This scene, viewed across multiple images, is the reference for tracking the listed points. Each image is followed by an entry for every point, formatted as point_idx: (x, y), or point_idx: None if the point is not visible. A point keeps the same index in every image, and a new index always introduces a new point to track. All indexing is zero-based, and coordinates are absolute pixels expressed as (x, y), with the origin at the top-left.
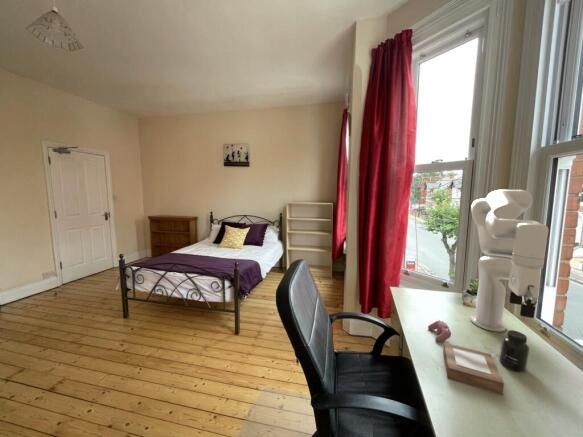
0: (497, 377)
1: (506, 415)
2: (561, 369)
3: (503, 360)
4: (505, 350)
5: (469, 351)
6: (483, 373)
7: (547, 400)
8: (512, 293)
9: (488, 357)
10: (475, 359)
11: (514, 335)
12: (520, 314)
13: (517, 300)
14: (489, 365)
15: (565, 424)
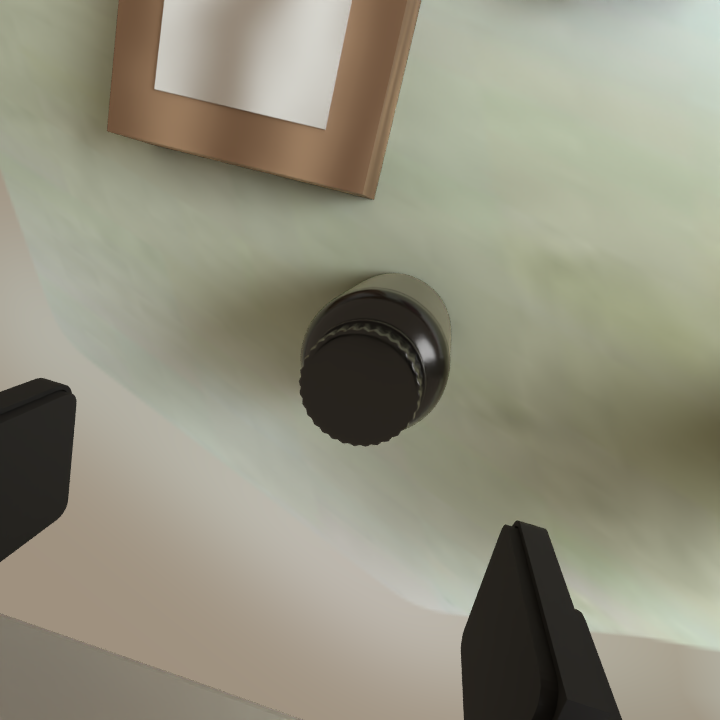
0: (142, 117)
1: (38, 97)
2: (414, 552)
3: (375, 276)
4: (361, 285)
5: (361, 45)
6: (152, 43)
7: (182, 337)
8: (532, 693)
9: (321, 158)
10: (270, 46)
11: (330, 352)
12: (39, 380)
13: (480, 646)
14: (241, 123)
15: (77, 318)
